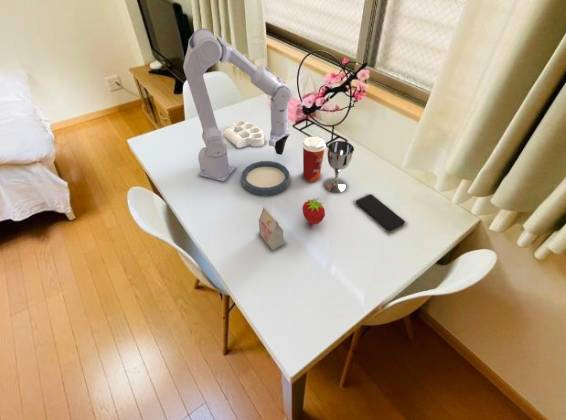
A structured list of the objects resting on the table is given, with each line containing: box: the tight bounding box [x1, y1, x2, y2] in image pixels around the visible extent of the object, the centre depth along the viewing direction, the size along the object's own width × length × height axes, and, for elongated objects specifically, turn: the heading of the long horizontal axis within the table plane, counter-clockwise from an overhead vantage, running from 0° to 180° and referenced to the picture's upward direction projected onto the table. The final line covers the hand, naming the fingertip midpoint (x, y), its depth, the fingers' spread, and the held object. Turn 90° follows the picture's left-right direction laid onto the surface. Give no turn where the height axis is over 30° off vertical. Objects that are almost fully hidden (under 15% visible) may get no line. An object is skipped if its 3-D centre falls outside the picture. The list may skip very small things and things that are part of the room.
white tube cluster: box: [221, 119, 265, 149], centre depth 124 cm, size 3×18×15 cm
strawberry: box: [301, 198, 326, 226], centre depth 87 cm, size 6×8×10 cm
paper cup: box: [301, 136, 327, 182], centre depth 102 cm, size 8×8×14 cm
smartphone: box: [355, 194, 406, 232], centre depth 94 cm, size 7×1×15 cm
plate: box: [241, 160, 290, 197], centre depth 104 cm, size 16×16×3 cm
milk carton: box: [258, 206, 284, 251], centre depth 82 cm, size 4×7×10 cm, turn 33°
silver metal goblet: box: [324, 140, 355, 194], centre depth 98 cm, size 8×8×15 cm
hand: (279, 153), depth 111 cm, fingers closed
